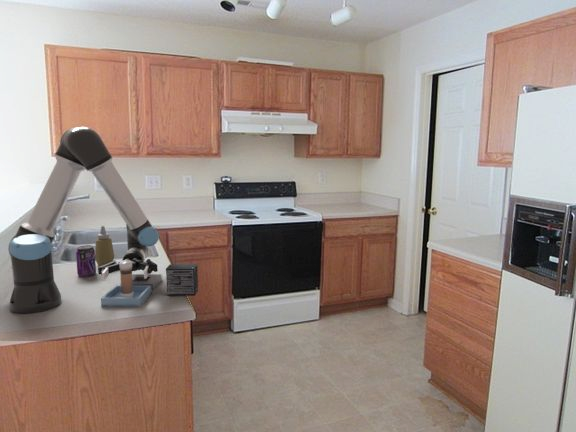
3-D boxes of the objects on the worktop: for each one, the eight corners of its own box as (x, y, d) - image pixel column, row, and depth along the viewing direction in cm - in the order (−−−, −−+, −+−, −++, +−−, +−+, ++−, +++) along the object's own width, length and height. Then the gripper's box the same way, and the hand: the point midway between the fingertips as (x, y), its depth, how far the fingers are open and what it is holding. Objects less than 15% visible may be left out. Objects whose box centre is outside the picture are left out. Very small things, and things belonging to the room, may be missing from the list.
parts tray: (101, 306, 143) (100, 298, 143) (115, 293, 156) (115, 285, 155) (140, 306, 143) (139, 298, 143) (151, 293, 156) (151, 285, 156)
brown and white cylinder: (119, 299, 147) (117, 263, 145) (123, 295, 152) (121, 260, 149) (131, 299, 148) (129, 264, 145) (135, 295, 152) (133, 260, 149)
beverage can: (87, 278, 173) (85, 249, 171) (73, 276, 175) (71, 248, 173) (100, 273, 180) (98, 245, 178) (86, 271, 182) (84, 244, 180)
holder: (120, 290, 159) (120, 284, 159) (131, 280, 171) (131, 274, 171) (152, 290, 160) (152, 284, 159) (161, 280, 171) (161, 274, 171)
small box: (198, 290, 160) (198, 263, 159) (195, 296, 154) (195, 268, 152) (170, 290, 160) (169, 263, 158) (166, 296, 154) (165, 268, 152)
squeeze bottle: (91, 266, 189) (88, 227, 186) (104, 262, 197) (102, 224, 194) (106, 268, 186) (103, 228, 183) (118, 263, 194) (116, 225, 191)
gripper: (167, 267, 168) (162, 284, 148) (100, 270, 164) (86, 288, 143) (166, 248, 167) (161, 263, 147) (99, 251, 162) (84, 267, 142)
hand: (124, 275), depth 145 cm, fingers open, 13 cm apart
